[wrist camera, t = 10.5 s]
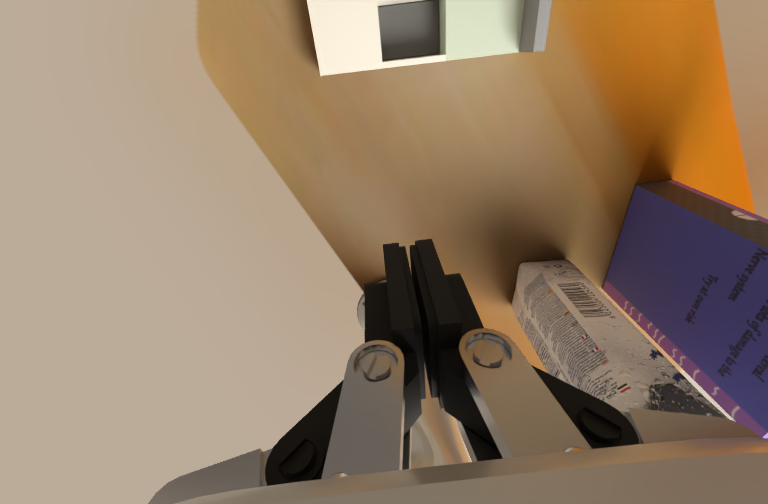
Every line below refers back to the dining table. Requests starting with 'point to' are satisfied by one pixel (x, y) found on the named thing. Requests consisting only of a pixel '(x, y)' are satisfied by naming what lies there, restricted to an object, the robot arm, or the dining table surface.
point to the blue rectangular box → (699, 290)
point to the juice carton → (597, 343)
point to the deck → (422, 31)
